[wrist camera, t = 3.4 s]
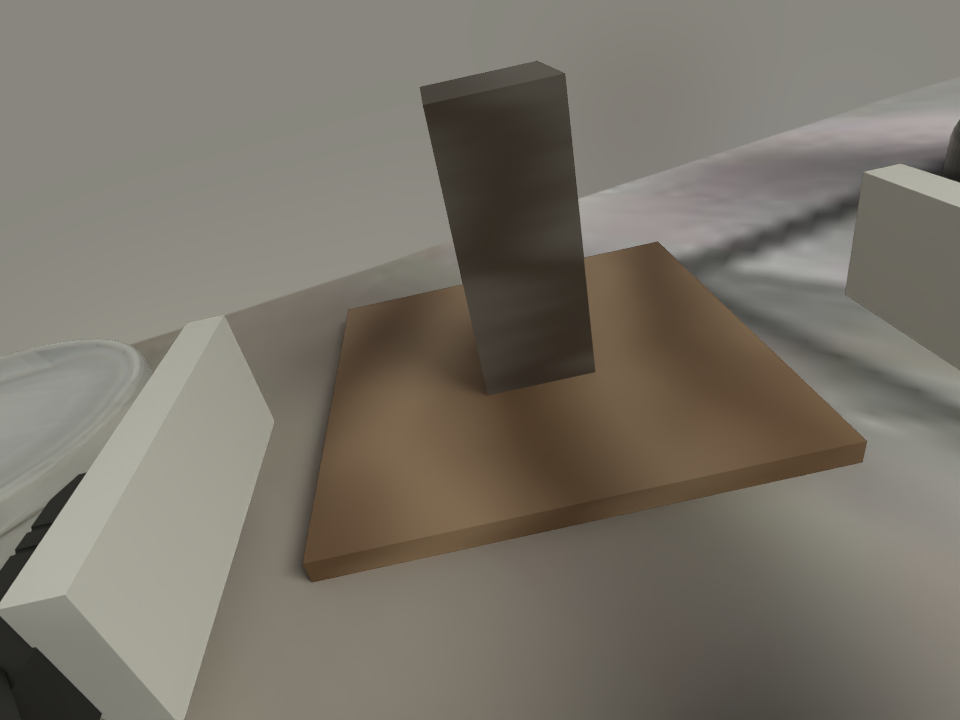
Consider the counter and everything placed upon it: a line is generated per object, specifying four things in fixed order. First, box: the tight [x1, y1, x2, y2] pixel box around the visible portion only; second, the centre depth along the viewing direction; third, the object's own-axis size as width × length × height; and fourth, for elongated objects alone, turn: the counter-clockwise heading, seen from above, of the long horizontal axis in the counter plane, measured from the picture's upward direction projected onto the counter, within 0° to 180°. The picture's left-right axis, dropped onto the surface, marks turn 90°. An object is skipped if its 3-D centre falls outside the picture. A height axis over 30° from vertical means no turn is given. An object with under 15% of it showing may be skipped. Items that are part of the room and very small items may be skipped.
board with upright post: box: [302, 61, 867, 582], centre depth 21 cm, size 16×16×11 cm
